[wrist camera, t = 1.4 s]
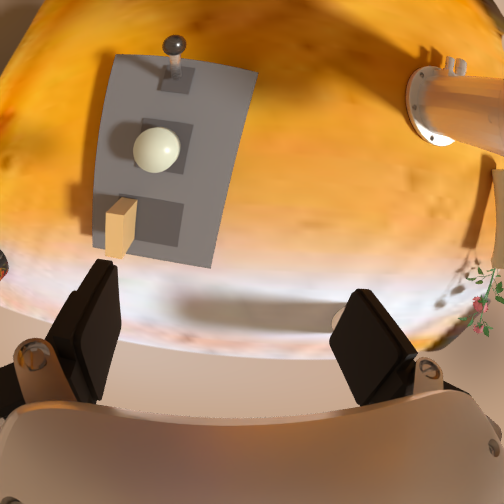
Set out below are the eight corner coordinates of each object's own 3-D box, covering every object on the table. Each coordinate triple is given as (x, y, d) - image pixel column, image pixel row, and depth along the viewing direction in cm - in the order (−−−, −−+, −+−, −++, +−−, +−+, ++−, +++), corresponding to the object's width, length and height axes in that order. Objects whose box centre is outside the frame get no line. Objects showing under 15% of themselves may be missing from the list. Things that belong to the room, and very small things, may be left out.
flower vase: (476, 166, 42) (471, 307, 52) (456, 170, 38) (449, 329, 48) (519, 169, 31) (506, 321, 41) (508, 173, 27) (488, 347, 37)
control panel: (124, 58, 23) (114, 53, 20) (255, 76, 27) (259, 71, 24) (100, 237, 34) (91, 248, 31) (211, 256, 37) (210, 270, 34)
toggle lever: (169, 67, 22) (166, 29, 16) (188, 69, 22) (189, 31, 16) (164, 82, 22) (158, 45, 16) (183, 84, 22) (182, 47, 16)
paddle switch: (121, 197, 28) (105, 212, 24) (137, 199, 29) (123, 215, 24) (119, 235, 31) (105, 256, 26) (134, 238, 31) (122, 259, 27)
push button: (142, 124, 24) (137, 125, 22) (184, 130, 24) (181, 131, 23) (136, 165, 25) (130, 169, 24) (176, 171, 26) (172, 176, 25)
